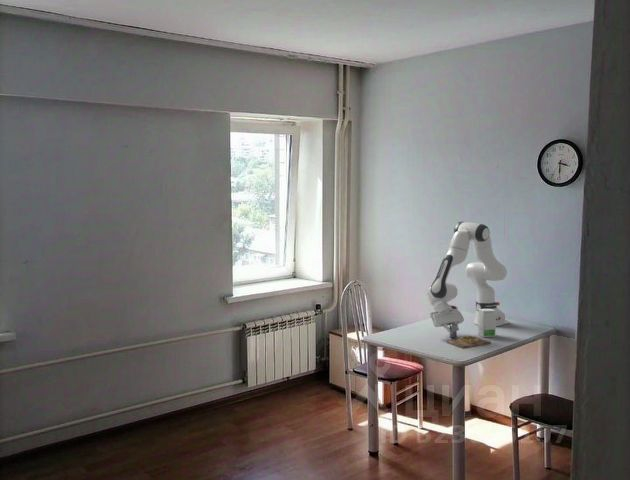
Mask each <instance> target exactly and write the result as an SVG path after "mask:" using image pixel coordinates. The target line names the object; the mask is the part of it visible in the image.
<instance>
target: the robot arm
mask: <svg viewBox="0 0 630 480" xmlns="http://www.w3.org/2000/svg"><path fill="white" fill-rule="evenodd" d="M490 234H491V233H490V229H489V227H488V226H487V225H486V224H482V223H477V222H469V221H458V222H457V223H456V224H455V226H454V228H453V235H452V238H451V240H450V243H449V246H448V250H447V253H446V254H445V256H444V257H443V259H442V261H441V264H440V266H439V269H438V272H437V274H436V276H435V279H434V280H433V281H432V284H431V285H430V287H429V288H428V289H427V291H426V296H427V299H428V301H429V303H430V305H431V306H432V307H433V312H430V314H429V316H430V318H431V322H432V324H433V326H434V327H435V328H441V327H443V328H444V329H445V330H446V331H447V332H448V333H450V332H451V328H450V324H457V332H458V331H460V328H459V325H460V324H462V323H463V322H464V321H465V317H464V315H463V314H462V313H461V312H460V310H459V309H458V306H456V305H451V304H448V302H451V301H452V300H454V299H455V298H456V297H457V296H458V288H457V286H456V285H455V284H452V283H449V282H447V279H448V278H449V277H448V276H449V274H450V272H451V270H452V268H453V267H455V266H457V265H460V264H462V263H463V262H465V261H466V258H467V256H468V252H469V249H470V242H471V241H472V249H473V254H474V257H475V259H477V260H478V261H480V262H477V261H475V262H470V263H468V264H467V265H466V267H465V275H466V276H467V278H469V279H470V280H471V281H472V283H473V285H474V286H475V290H476V291H475V293H476V301H475V307H476V308H475V315H474V320H473V321H474V322H473V324H475V325H477V326H478V322H479V309H493V310H496V327H500V326H503V325H508V324H509V323H510V321H509V320H508V319H506V314H505V313H504V312H503V311H502V310H501V309H499V307H497V306H501V305H500V304H501V303H500V302H498V301H496V300H495V297H496V294H495V293H496V291H495V289H494V287H493V286H491V285H489V284H488V283H487V281H492V282H496V281H497V282H498V281H499V282H500V281H503V280H505V279H506V277H507V276H508V275H507V274H508V271H507V268H506V266H505V265H504V264H502V263H501V262H500V261H498V260H497V258H496V256H495V254H494V251H493V246H492V240H491V235H490Z"/></svg>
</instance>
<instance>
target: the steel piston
mask: <svg viewBox="0 0 630 480" xmlns="http://www.w3.org/2000/svg"><path fill="white" fill-rule="evenodd" d="M449 328H451V332H449V339H452V340H457V339H458V333H457V332H458V331H457V324H450V325H449Z"/></svg>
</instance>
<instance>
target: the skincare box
mask: <svg viewBox="0 0 630 480" xmlns="http://www.w3.org/2000/svg"><path fill="white" fill-rule="evenodd" d="M477 326H478V329H477V331H478V332H477V334H478V336H479V337H481V338H493V337H494V338H495V337H496V327H497V326H496V310H493V309H479V322H478V325H477Z"/></svg>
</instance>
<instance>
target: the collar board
mask: <svg viewBox="0 0 630 480" xmlns="http://www.w3.org/2000/svg"><path fill="white" fill-rule="evenodd" d="M446 343H447V344H448V345H451V346H455V347H458V348H459V349H460V348H461V349H467V348H472V347H478V346H484V345H489V344H491V341H490V340H487V339H483V338H482V337H481V338H480V337H478V336H472V335H465V336H459V337H458V338H456V339H452V340H447V341H446Z"/></svg>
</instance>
